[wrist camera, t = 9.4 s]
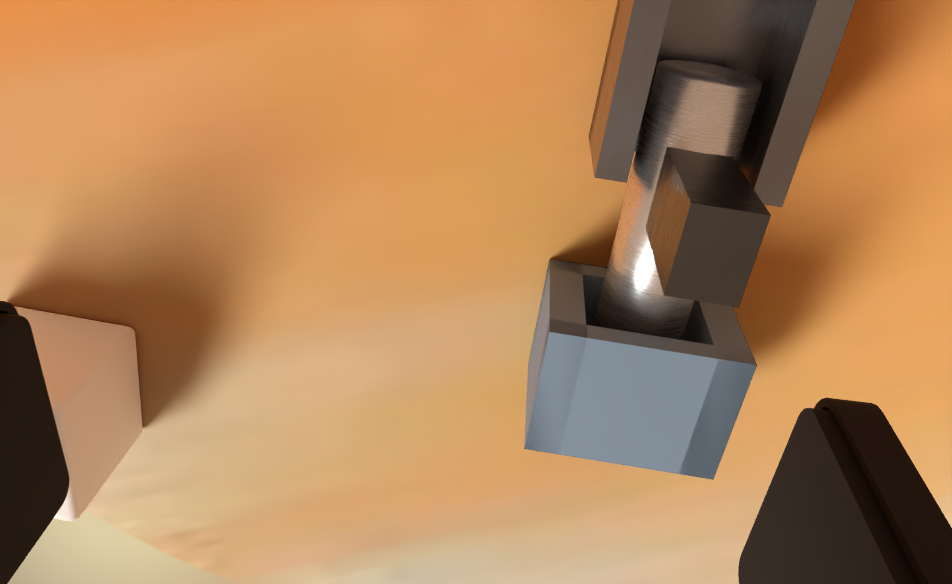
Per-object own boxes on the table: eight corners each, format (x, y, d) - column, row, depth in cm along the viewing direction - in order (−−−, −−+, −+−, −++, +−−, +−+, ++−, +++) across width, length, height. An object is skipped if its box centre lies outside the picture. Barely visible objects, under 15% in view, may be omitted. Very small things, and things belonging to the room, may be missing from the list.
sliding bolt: (652, 54, 29) (689, 120, 21) (749, 70, 29) (822, 141, 21) (580, 352, 36) (588, 487, 28) (658, 365, 36) (689, 503, 28)
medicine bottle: (1, 300, 39) (-198, 455, 29) (137, 325, 39) (-14, 488, 29) (20, 409, 43) (-152, 581, 32) (145, 431, 43) (13, 611, 32)
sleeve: (658, -192, 27) (679, -206, 22) (856, -162, 27) (916, -170, 22) (588, 137, 32) (594, 177, 28) (750, 162, 32) (781, 207, 28)
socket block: (549, 258, 35) (549, 331, 30) (723, 286, 35) (756, 365, 30) (528, 364, 38) (524, 448, 33) (689, 390, 38) (713, 479, 33)
